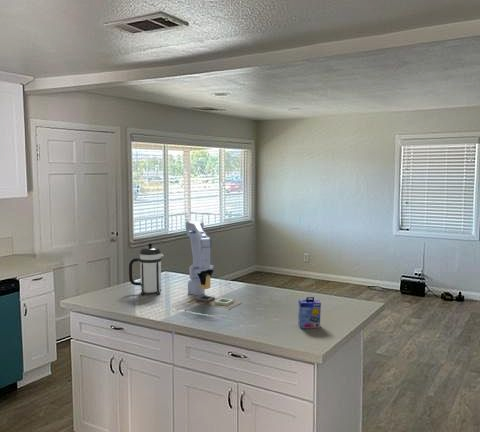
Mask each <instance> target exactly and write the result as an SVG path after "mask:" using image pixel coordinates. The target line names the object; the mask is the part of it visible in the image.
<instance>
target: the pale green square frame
mask: <svg viewBox="0 0 480 432" xmlns="http://www.w3.org/2000/svg"><path fill="white" fill-rule="evenodd" d="M222 301H223V302H222ZM234 301H235V300H234V299H231V298H230V299H229V298H223V297H221V298H219V299H218V300H216V301H214V304H217V305H223V306H228V305H230V304H232V303H234Z"/></svg>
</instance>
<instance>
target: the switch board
mask: <svg viewBox="0 0 480 432" xmlns="http://www.w3.org/2000/svg"><path fill="white" fill-rule="evenodd" d="M201 296H202V295H199V297H201ZM196 298H197V297H196ZM196 298H193V299H191V300H189V301H188V303H192V304H198V305H205V306H209V307H211V306H213V307H218V308H225V309H228V311H230V310H232V309H234V308H235V307H238V306H240V305H242V303H243V302H242V301H237V300H234V303H232V304H230V305H228V306H223V305H217V304H214V301H216V300H218V299H220V298H218V297H215V300H213V301H211V302H209V303H205V302H198V301H196ZM206 300H207V299H206ZM222 302H223V301H222Z"/></svg>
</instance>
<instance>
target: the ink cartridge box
mask: <svg viewBox="0 0 480 432" xmlns="http://www.w3.org/2000/svg"><path fill="white" fill-rule="evenodd" d="M321 306H322V303H321V301H320V300H319V299H315V296H307V297H306V299H299V300H298V312H297V313H298V316H297V317H298V319H297V320H298V326H299V329H319V328H321V309H322V307H321Z"/></svg>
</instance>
